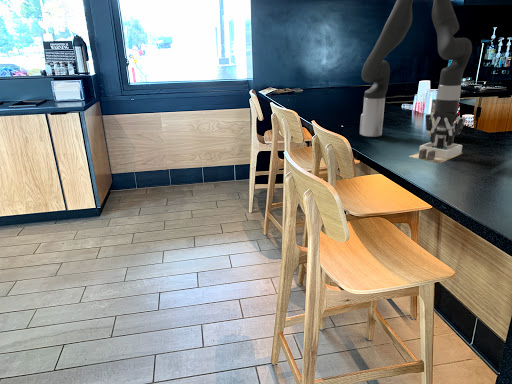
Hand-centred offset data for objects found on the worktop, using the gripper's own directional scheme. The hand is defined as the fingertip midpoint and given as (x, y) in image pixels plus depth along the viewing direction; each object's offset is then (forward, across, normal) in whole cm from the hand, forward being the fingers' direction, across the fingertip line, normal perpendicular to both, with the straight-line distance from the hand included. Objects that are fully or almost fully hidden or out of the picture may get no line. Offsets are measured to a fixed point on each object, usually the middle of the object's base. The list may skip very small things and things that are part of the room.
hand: (441, 143), depth 144 cm
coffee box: (+5, +16, -30) cm, 34 cm away
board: (+5, 0, +3) cm, 6 cm away
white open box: (+4, 0, 0) cm, 4 cm away
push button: (+4, 0, 0) cm, 4 cm away
